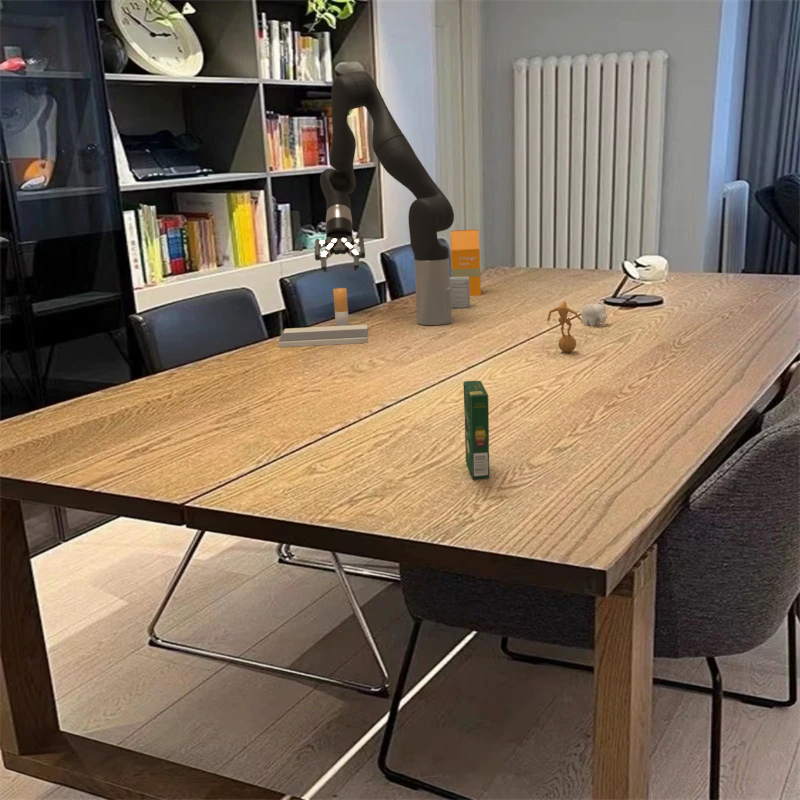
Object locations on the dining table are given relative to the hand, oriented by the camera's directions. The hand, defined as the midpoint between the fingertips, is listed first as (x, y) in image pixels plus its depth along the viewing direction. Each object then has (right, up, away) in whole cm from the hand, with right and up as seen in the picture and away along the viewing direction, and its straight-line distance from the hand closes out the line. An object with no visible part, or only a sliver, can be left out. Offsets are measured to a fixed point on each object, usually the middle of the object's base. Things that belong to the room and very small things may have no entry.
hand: (340, 269), depth 270 cm
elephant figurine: (+66, -18, -23) cm, 73 cm away
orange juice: (+38, -3, +34) cm, 51 cm away
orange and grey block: (+1, -16, -7) cm, 18 cm away
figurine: (+54, -26, -52) cm, 80 cm away
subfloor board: (-3, -21, -22) cm, 31 cm away
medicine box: (+33, -10, +12) cm, 37 cm away
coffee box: (+28, -48, -125) cm, 137 cm away
